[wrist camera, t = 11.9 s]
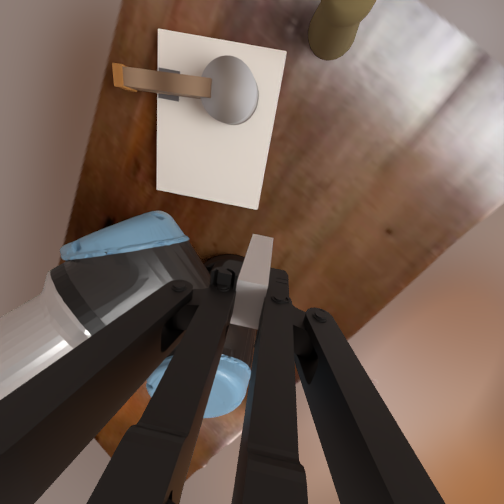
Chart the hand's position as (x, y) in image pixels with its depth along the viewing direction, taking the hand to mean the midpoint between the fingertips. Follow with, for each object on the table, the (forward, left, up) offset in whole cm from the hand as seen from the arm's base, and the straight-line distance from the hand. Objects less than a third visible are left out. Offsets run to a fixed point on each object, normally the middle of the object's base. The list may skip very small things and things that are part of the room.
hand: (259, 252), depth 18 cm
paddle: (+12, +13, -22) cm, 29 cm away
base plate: (+8, +10, -24) cm, 28 cm away
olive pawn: (+21, -3, -25) cm, 33 cm away
